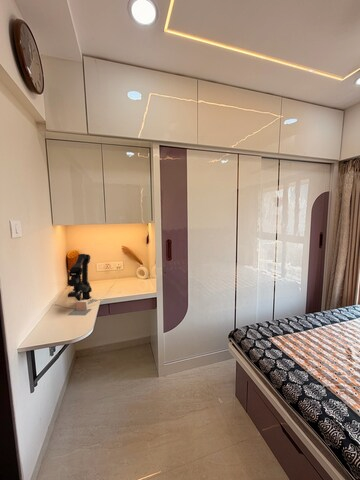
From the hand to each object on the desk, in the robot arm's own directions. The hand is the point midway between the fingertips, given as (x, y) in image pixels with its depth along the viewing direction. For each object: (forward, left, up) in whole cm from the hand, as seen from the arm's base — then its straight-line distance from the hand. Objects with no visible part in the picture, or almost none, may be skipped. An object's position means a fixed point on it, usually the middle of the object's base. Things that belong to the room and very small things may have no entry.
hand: (79, 301), depth 162 cm
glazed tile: (+3, +4, -6) cm, 8 cm away
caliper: (-6, 0, -5) cm, 8 cm away
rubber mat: (+7, +4, -6) cm, 10 cm away
